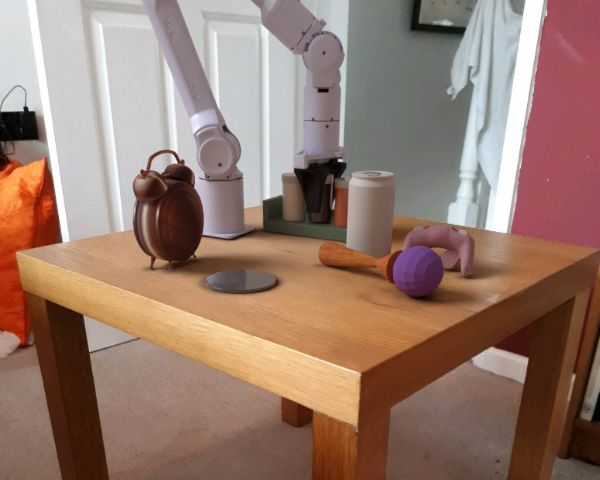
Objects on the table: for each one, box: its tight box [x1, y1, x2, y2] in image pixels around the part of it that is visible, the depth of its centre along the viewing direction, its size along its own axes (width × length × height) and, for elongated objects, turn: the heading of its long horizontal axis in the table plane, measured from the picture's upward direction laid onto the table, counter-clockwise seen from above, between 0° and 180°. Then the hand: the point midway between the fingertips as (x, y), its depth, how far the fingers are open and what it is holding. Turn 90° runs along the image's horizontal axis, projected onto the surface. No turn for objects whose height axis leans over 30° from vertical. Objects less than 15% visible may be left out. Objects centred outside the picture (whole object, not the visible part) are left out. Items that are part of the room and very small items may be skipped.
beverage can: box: [345, 170, 397, 259], centre depth 88 cm, size 6×6×12 cm
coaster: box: [205, 269, 277, 294], centre depth 81 cm, size 9×9×1 cm
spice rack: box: [262, 194, 347, 243], centre depth 106 cm, size 18×9×5 cm, turn 61°
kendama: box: [318, 240, 445, 298], centre depth 81 cm, size 6×6×20 cm
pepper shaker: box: [308, 173, 334, 222], centre depth 104 cm, size 4×4×7 cm
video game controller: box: [400, 224, 476, 278], centre depth 86 cm, size 10×5×7 cm, turn 71°
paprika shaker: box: [333, 176, 353, 228], centre depth 102 cm, size 4×4×7 cm
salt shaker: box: [281, 171, 306, 221], centre depth 106 cm, size 4×4×7 cm
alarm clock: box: [132, 149, 204, 270], centre depth 85 cm, size 11×5×15 cm, turn 154°
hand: (319, 209), depth 105 cm, fingers closed on pepper shaker, 4 cm apart
